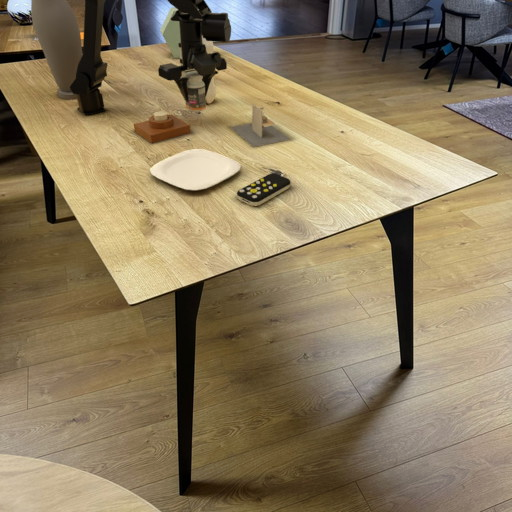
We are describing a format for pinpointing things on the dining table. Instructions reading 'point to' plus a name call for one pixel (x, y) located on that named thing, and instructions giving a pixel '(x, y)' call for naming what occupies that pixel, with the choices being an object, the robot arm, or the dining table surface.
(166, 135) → the base
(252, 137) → the architectural model
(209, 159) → the plate
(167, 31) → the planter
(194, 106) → the pill bottle
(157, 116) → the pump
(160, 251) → the dining table surface
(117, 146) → the dining table surface
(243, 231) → the dining table surface
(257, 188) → the remote control
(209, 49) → the water bottle
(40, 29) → the vase
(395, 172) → the dining table surface
